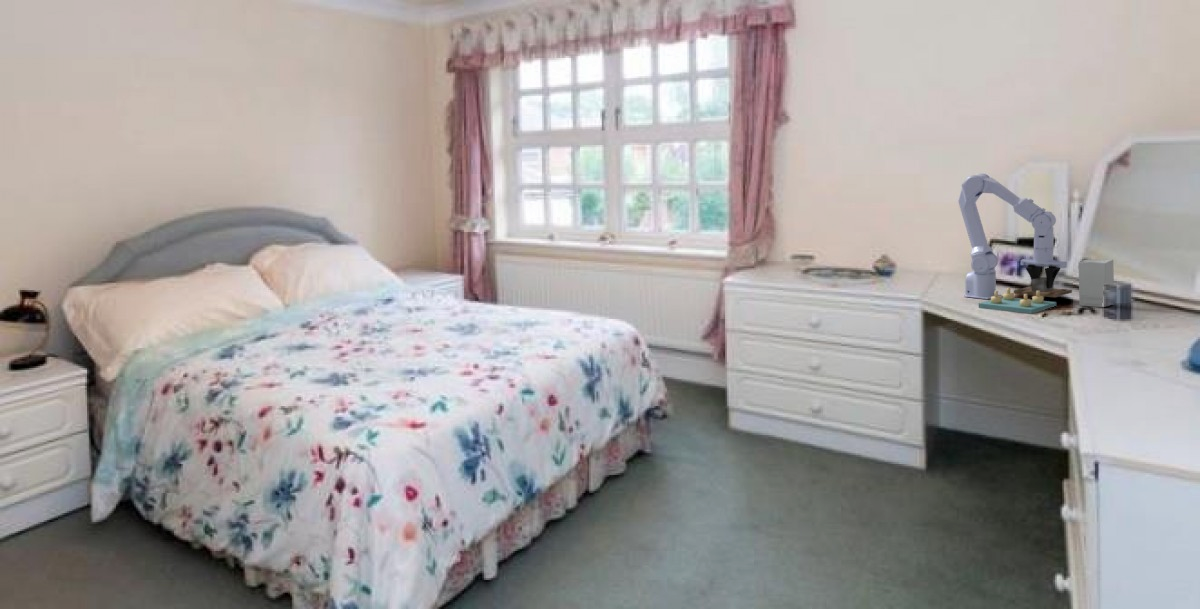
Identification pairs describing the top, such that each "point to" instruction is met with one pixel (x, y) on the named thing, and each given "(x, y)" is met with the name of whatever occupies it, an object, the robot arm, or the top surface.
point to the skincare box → (1094, 281)
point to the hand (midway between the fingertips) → (1042, 287)
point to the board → (1048, 293)
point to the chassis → (1017, 303)
